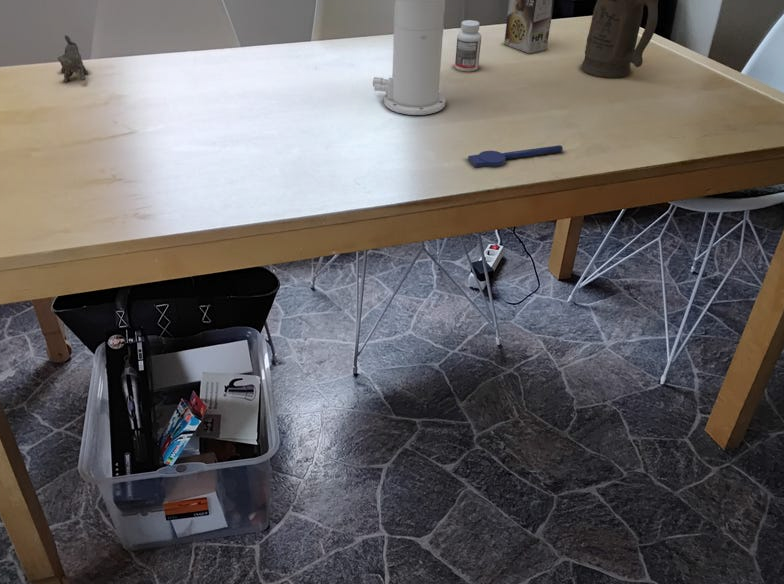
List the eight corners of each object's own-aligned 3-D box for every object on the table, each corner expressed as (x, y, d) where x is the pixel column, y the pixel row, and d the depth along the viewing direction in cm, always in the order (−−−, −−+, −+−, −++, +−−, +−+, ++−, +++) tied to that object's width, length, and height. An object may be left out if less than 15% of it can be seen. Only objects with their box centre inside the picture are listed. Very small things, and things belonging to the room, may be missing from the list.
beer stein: (569, 68, 166) (592, -27, 152) (595, 57, 172) (620, -35, 158) (627, 91, 159) (657, -7, 145) (652, 79, 164) (684, -16, 151)
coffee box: (547, 49, 176) (559, -24, 166) (528, 54, 174) (539, -20, 163) (521, 39, 182) (531, -32, 172) (502, 44, 179) (511, -29, 169)
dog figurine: (61, 69, 162) (52, 34, 157) (88, 67, 163) (80, 32, 159) (59, 88, 153) (50, 52, 149) (88, 86, 155) (79, 50, 150)
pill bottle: (461, 62, 169) (466, 17, 162) (482, 67, 166) (487, 21, 160) (450, 68, 165) (454, 23, 159) (470, 73, 163) (475, 27, 157)
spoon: (477, 169, 127) (477, 163, 126) (465, 158, 130) (466, 151, 129) (568, 156, 131) (569, 150, 130) (555, 146, 134) (556, 139, 134)
